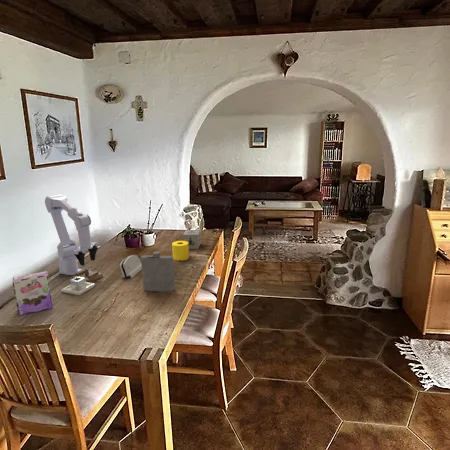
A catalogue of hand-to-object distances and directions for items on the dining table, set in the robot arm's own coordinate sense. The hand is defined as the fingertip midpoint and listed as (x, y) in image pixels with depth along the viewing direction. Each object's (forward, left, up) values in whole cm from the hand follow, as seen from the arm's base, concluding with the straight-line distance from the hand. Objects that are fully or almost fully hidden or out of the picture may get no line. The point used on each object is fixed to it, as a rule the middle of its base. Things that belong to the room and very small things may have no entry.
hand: (87, 262), depth 187 cm
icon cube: (+28, +68, -10) cm, 74 cm away
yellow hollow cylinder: (+31, +46, -10) cm, 56 cm away
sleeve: (+3, -11, -9) cm, 15 cm away
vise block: (-2, +1, -10) cm, 10 cm away
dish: (+3, -11, -10) cm, 15 cm away
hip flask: (+42, +2, -10) cm, 43 cm away
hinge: (+15, +17, -10) cm, 25 cm away
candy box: (0, -34, -10) cm, 36 cm away
